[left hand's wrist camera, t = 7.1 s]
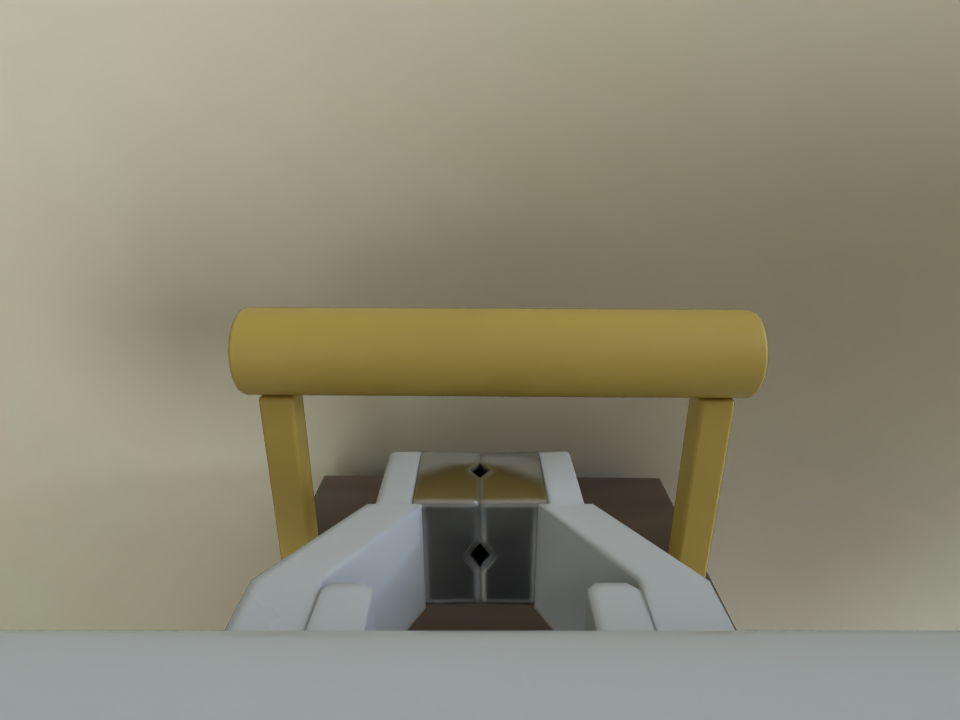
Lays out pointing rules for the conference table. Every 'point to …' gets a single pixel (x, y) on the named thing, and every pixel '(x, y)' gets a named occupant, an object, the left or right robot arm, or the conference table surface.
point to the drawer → (502, 372)
